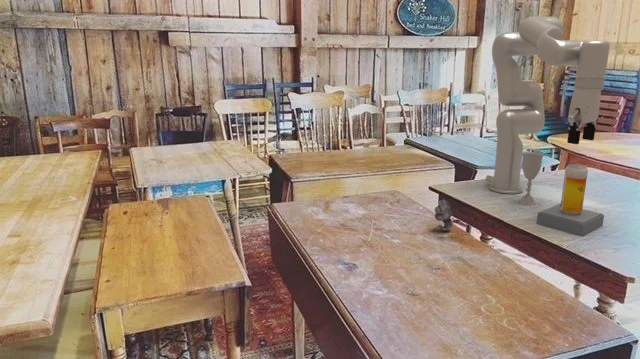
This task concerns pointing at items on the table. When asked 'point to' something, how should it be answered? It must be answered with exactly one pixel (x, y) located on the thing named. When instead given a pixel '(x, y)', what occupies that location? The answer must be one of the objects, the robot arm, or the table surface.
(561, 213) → the plinth
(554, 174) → the table surface
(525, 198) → the chalice
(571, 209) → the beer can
